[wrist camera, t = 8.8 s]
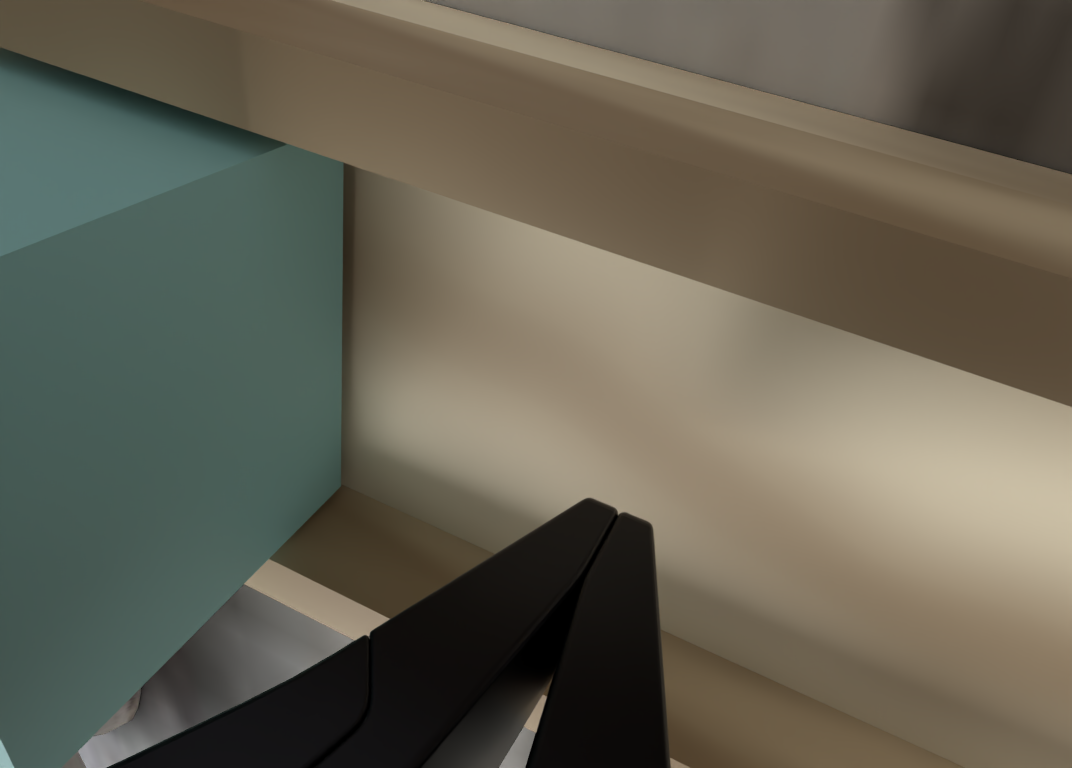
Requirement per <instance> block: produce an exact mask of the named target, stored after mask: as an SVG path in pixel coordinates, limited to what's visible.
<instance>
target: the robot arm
mask: <svg viewBox="0 0 1072 768" xmlns="http://www.w3.org/2000/svg"><path fill="white" fill-rule="evenodd" d="M552 677H553V678H552ZM551 679H552V681H551ZM550 681H551V684H550V688H549V691H548V694H547V698H546V701H545V704H544V708H543V711H542V714H541V718H540V721H539V724H538V728H537V731H536V734H535V738H534V741H533V744H532V748H531V751H530V754H529V758H528V761H527V764H526V768H671V763H670V750H669V736H668V722H667V708H666V695H665V681H664V667H663V653H662V640H661V626H660V612H659V599H658V585H657V571H656V557H655V544H654V530H653V526H652V524H651V523H650V522H648V521H646V520H643V519H641V518H639V517H636V516H634V515H631V514H629V513H627V512H621V513H620V514H619V515H618V511H617V509H616V508H615V507H612V506H610V505H608V504H605V503H603V502H601V501H598V500H596V499H593V498H585V499H583V500H581V501H580V502H578V503H576V504H575V505H573V506H572V507H570V508H568V509H567V510H565V511H564V512H562V513H560V514H559V515H557V516H556V517H554V518H552V519H551V520H549V521H547V522H546V523H544V524H543V525H541V526H539V527H538V528H536V529H535V530H533V531H531V532H530V533H528V534H526V535H525V536H523V537H522V538H520V539H518V540H517V541H515V542H514V543H512V544H510V545H509V546H507V547H506V548H504V549H502V550H501V551H499V552H497V553H496V554H494V555H493V556H491V557H489V558H488V559H486V560H485V561H483V562H481V563H480V564H478V565H476V566H475V567H473V568H472V569H470V570H468V571H467V572H465V573H464V574H462V575H460V576H459V577H457V578H456V579H454V580H452V581H451V582H449V583H447V584H446V585H444V586H443V587H441V588H439V589H438V590H436V591H435V592H433V593H431V594H430V595H428V596H426V597H425V598H423V599H422V600H420V601H418V602H417V603H415V604H414V605H412V606H410V607H409V608H407V609H406V610H404V611H402V612H401V613H399V614H397V615H396V616H394V617H393V618H391V619H389V620H388V621H386V622H385V623H383V624H381V625H380V626H378V627H376V628H375V629H373V630H372V631H371V632H370V635H369V637H368V636H367V635H363V636H361V637H360V638H358V639H357V640H355V641H353V642H352V643H350V644H349V645H347V646H345V647H344V648H342V649H341V650H339V651H337V652H336V653H334V654H332V655H331V656H329V657H327V658H325V659H324V660H322V661H320V662H319V663H317V664H315V665H313V666H312V667H310V668H308V669H306V670H305V671H303V672H301V673H300V674H298V675H296V676H294V677H293V678H291V679H289V680H287V681H285V682H283V683H281V684H279V685H277V686H275V687H273V688H271V689H269V690H267V691H265V692H263V693H261V694H259V695H257V696H255V697H253V698H251V699H249V700H247V701H245V702H243V703H241V704H239V705H237V706H235V707H233V708H231V709H229V710H227V711H224V712H222V713H220V714H218V715H216V716H214V717H212V718H210V719H208V720H206V721H204V722H202V723H199V724H197V725H195V726H193V727H191V728H189V729H187V730H185V731H183V732H181V733H179V734H176V735H174V736H172V737H170V738H168V739H166V740H164V741H162V742H160V743H158V744H156V745H154V746H151V747H149V748H147V749H145V750H143V751H141V752H139V753H137V754H135V755H133V756H131V757H128V758H126V759H124V760H122V761H120V762H118V763H116V764H113V765H111V766H109V767H107V768H499V766H500V765H501V763H502V761H503V760H504V758H505V756H506V755H507V753H508V751H509V750H510V748H511V746H512V745H513V743H514V742H515V740H516V738H517V737H518V735H519V733H520V732H521V730H522V728H523V727H524V725H525V723H526V722H527V720H528V718H529V717H530V715H531V713H532V712H533V710H534V708H535V707H536V705H537V703H538V702H539V700H540V698H541V697H542V695H543V693H544V692H545V690H546V688H547V686H548V684H549V683H550Z"/></svg>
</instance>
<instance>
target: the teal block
mask: <svg viewBox="0 0 1072 768" xmlns="http://www.w3.org/2000/svg"><path fill="white" fill-rule="evenodd" d="M343 164H344V163H343V162H340V161H337V160H334V159H331V158H328V157H325V156H322V155H319V154H316V153H313V152H310V151H307V150H304V149H302V148H299V147H296V146H293V145H290V144H287V143H284V142H281V141H278V140H275V139H272V138H269V137H266V136H263V135H260V134H257V133H254V132H251V131H248V130H245V129H242V128H239V127H236V126H233V125H230V124H227V123H224V122H221V121H218V120H215V119H212V118H209V117H206V116H203V115H200V114H197V113H194V112H191V111H188V110H185V109H182V108H179V107H176V106H173V105H170V104H167V103H164V102H162V101H159V100H156V99H153V98H150V97H147V96H144V95H141V94H138V93H135V92H132V91H129V90H126V89H123V88H120V87H117V86H114V85H111V84H108V83H105V82H102V81H99V80H96V79H93V78H90V77H87V76H84V75H81V74H78V73H75V72H72V71H69V70H66V69H63V68H60V67H57V66H54V65H51V64H48V63H45V62H42V61H39V60H36V59H33V58H30V57H27V56H24V55H22V54H19V53H16V52H13V51H10V50H7V49H4V48H1V47H0V768H62V767H63V766H64V765H65V764H66V763H67V762H68V761H69V760H70V759H71V758H72V757H73V756H74V755H75V753H76V752H77V751H78V750H79V749H80V748H81V747H82V746H83V745H84V744H85V743H86V742H87V741H88V740H89V739H90V738H91V737H92V736H93V735H94V734H95V733H96V732H97V731H98V730H99V729H100V728H101V727H102V726H103V725H104V724H105V723H106V722H107V721H108V720H109V719H110V718H111V717H112V716H113V715H114V714H115V713H116V712H117V711H118V710H119V709H120V708H121V707H122V706H123V705H124V704H125V703H126V702H127V701H128V700H129V699H130V698H131V697H132V696H133V695H134V694H135V693H136V692H137V691H138V690H139V689H140V688H141V687H142V686H143V685H144V684H145V683H146V682H147V681H148V680H149V679H150V678H151V677H152V676H153V675H154V674H155V673H156V672H157V671H158V670H159V669H160V668H161V667H162V666H163V665H164V664H165V663H166V662H167V661H168V660H169V659H170V658H171V657H172V656H173V655H174V654H175V653H176V652H177V651H178V650H179V649H180V648H181V647H182V646H183V645H184V644H185V643H186V642H187V641H188V640H189V639H190V638H191V637H192V636H193V635H194V634H195V633H196V632H197V631H198V630H199V629H200V628H201V627H202V626H203V625H204V624H205V623H206V622H207V621H208V620H209V619H210V618H211V617H212V616H213V615H214V614H215V613H216V612H217V611H218V610H219V609H220V608H221V607H222V606H223V605H224V604H225V603H226V602H227V601H228V600H229V599H230V598H231V597H232V596H233V595H234V594H235V593H236V592H237V590H238V589H239V588H240V587H241V586H242V585H243V584H244V583H245V582H246V581H247V580H248V579H249V578H250V577H251V576H252V575H253V574H254V573H255V572H256V571H257V570H258V569H259V568H260V567H261V566H262V565H263V564H264V563H265V562H266V561H267V560H268V559H269V558H270V557H271V556H272V555H273V554H274V553H275V552H276V551H277V550H278V549H279V548H280V547H281V546H282V545H283V544H284V543H285V542H286V541H287V540H288V539H289V538H290V537H291V536H292V535H293V534H294V533H295V532H296V531H297V530H298V529H299V528H300V527H301V526H302V525H303V524H304V523H305V522H306V521H307V520H308V519H309V518H310V517H311V516H312V515H313V514H314V513H315V512H316V511H317V510H318V509H319V508H320V507H321V506H322V505H323V504H324V503H325V502H326V501H327V500H328V499H329V498H330V497H331V496H332V495H333V494H334V493H335V492H336V491H337V490H338V489H339V488H340V487H341V411H342V288H343Z"/></svg>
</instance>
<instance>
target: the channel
mask: <svg viewBox="0 0 1072 768" xmlns="http://www.w3.org/2000/svg"><path fill="white" fill-rule="evenodd" d="M0 47H1V48H4V49H7V50H10V51H13V52H16V53H19V54H22V55H24V56H27V57H30V58H33V59H36V60H39V61H42V62H45V63H48V64H51V65H54V66H57V67H60V68H63V69H66V70H69V71H72V72H75V73H78V74H81V75H84V76H87V77H90V78H93V79H96V80H99V81H102V82H105V83H108V84H111V85H114V86H117V87H120V88H123V89H126V90H129V91H132V92H135V93H138V94H141V95H144V96H147V97H150V98H153V99H156V100H159V101H162V102H164V103H167V104H170V105H173V106H176V107H179V108H182V109H185V110H188V111H191V112H194V113H197V114H200V115H203V116H206V117H209V118H212V119H215V120H218V121H221V122H224V123H227V124H230V125H233V126H236V127H239V128H242V129H245V130H248V131H251V132H254V133H257V134H260V135H263V136H266V137H269V138H272V139H275V140H278V141H281V142H284V143H287V144H290V145H293V146H296V147H299V148H302V149H304V150H307V151H310V152H313V153H316V154H319V155H322V156H325V157H328V158H331V159H334V160H337V161H340V162H343V163H344V164H343V288H342V411H341V487H340V488H339V489H338V490H337V491H336V492H335V493H334V494H333V495H332V496H331V497H330V498H329V499H328V500H327V501H326V502H325V503H324V504H323V505H322V506H321V507H320V508H319V509H318V510H317V511H316V512H315V513H314V514H313V515H312V516H311V517H310V518H309V519H308V520H307V521H306V522H305V523H304V524H303V525H302V526H301V527H300V528H299V529H298V530H297V531H296V532H295V533H294V534H293V535H292V536H291V537H290V538H289V539H288V540H287V541H286V542H285V543H284V544H283V545H282V546H281V547H280V548H279V549H278V550H277V551H276V552H275V553H274V554H273V555H272V556H271V557H270V558H269V559H268V560H267V561H266V562H265V563H264V564H263V565H262V566H261V567H260V568H259V569H258V570H257V571H256V572H255V573H254V574H253V575H252V576H251V577H250V578H249V579H248V580H247V581H246V582H245V583H244V584H245V585H247V586H249V587H251V588H253V589H255V590H257V591H259V592H261V593H263V594H264V595H266V596H268V597H270V598H272V599H274V600H276V601H278V602H280V603H282V604H284V605H286V606H288V607H290V608H292V609H294V610H296V611H298V612H300V613H302V614H304V615H306V616H308V617H310V618H312V619H314V620H316V621H317V622H319V623H321V624H323V625H325V626H327V627H329V628H331V629H333V630H335V631H337V632H339V633H341V634H343V635H345V636H347V637H349V638H351V639H353V640H357V639H358V638H360V637H361V636H363V635H367V636H368V637H369V635H370V632H371V631H372V630H373V629H375V628H376V627H378V626H380V625H381V624H383V623H385V622H386V621H388V620H389V619H391V618H393V617H394V616H396V615H397V614H399V613H401V612H402V611H404V610H406V609H407V608H409V607H410V606H412V605H414V604H415V603H417V602H418V601H420V600H422V599H423V598H425V597H426V596H428V595H430V594H431V593H433V592H435V591H436V590H438V589H439V588H441V587H443V586H444V585H446V584H447V583H449V582H451V581H452V580H454V579H456V578H457V577H459V576H460V575H462V574H464V573H465V572H467V571H468V570H470V569H472V568H473V567H475V566H476V565H478V564H480V563H481V562H483V561H485V560H486V559H488V558H489V557H491V556H493V555H494V554H496V553H497V552H499V551H501V550H502V549H504V548H506V547H507V546H509V545H510V544H512V543H514V542H515V541H517V540H518V539H520V538H522V537H523V536H525V535H526V534H528V533H530V532H531V531H533V530H535V529H536V528H538V527H539V526H541V525H543V524H544V523H546V522H547V521H549V520H551V519H552V518H554V517H556V516H557V515H559V514H560V513H562V512H564V511H565V510H567V509H568V508H570V507H572V506H573V505H575V504H576V503H578V502H580V501H581V500H583V499H585V498H593V499H596V500H598V501H601V502H603V503H605V504H608V505H610V506H612V507H615V508H616V509H617V511H618V515H619V514H620V513H621V512H627V513H629V514H631V515H634V516H636V517H639V518H641V519H643V520H646V521H648V522H650V523H651V524H652V526H653V530H654V544H655V557H656V571H657V585H658V599H659V612H660V626H661V640H662V653H663V667H664V681H665V695H666V708H667V722H668V736H669V750H670V763H671V768H1072V174H1068V173H1064V172H1061V171H1057V170H1053V169H1050V168H1046V167H1042V166H1038V165H1035V164H1031V163H1027V162H1023V161H1020V160H1016V159H1012V158H1008V157H1005V156H1001V155H997V154H994V153H990V152H986V151H982V150H979V149H975V148H971V147H967V146H964V145H960V144H956V143H953V142H949V141H945V140H941V139H938V138H934V137H930V136H926V135H923V134H919V133H915V132H912V131H908V130H904V129H900V128H897V127H893V126H889V125H885V124H882V123H878V122H874V121H871V120H867V119H863V118H859V117H856V116H852V115H848V114H844V113H841V112H837V111H833V110H830V109H826V108H822V107H818V106H815V105H811V104H807V103H803V102H800V101H796V100H792V99H788V98H785V97H781V96H777V95H774V94H770V93H766V92H762V91H759V90H755V89H751V88H747V87H744V86H740V85H736V84H733V83H729V82H725V81H721V80H718V79H714V78H710V77H706V76H703V75H699V74H695V73H692V72H688V71H684V70H680V69H677V68H673V67H669V66H665V65H662V64H658V63H654V62H651V61H647V60H643V59H639V58H636V57H632V56H628V55H624V54H621V53H617V52H613V51H609V50H606V49H602V48H598V47H595V46H591V45H587V44H583V43H580V42H576V41H572V40H568V39H565V38H561V37H557V36H554V35H550V34H546V33H542V32H539V31H535V30H531V29H527V28H524V27H520V26H516V25H513V24H509V23H505V22H501V21H498V20H494V19H490V18H486V17H483V16H479V15H475V14H472V13H468V12H464V11H460V10H457V9H453V8H449V7H445V6H442V5H438V4H434V3H431V2H427V1H423V0H0ZM552 678H553V677H552ZM551 681H552V679H551ZM551 681H550V683H549V684H548V686H547V688H546V690H545V692H544V693H543V695H542V697H541V698H540V700H539V702H538V703H537V705H536V707H535V708H534V710H533V712H532V713H531V715H530V717H529V718H528V720H527V722H526V723H525V725H524V727H525V728H527V729H529V730H531V731H533V732H535V733H536V731H537V728H538V724H539V721H540V718H541V714H542V711H543V708H544V704H545V701H546V698H547V694H548V691H549V688H550V684H551Z"/></svg>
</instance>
